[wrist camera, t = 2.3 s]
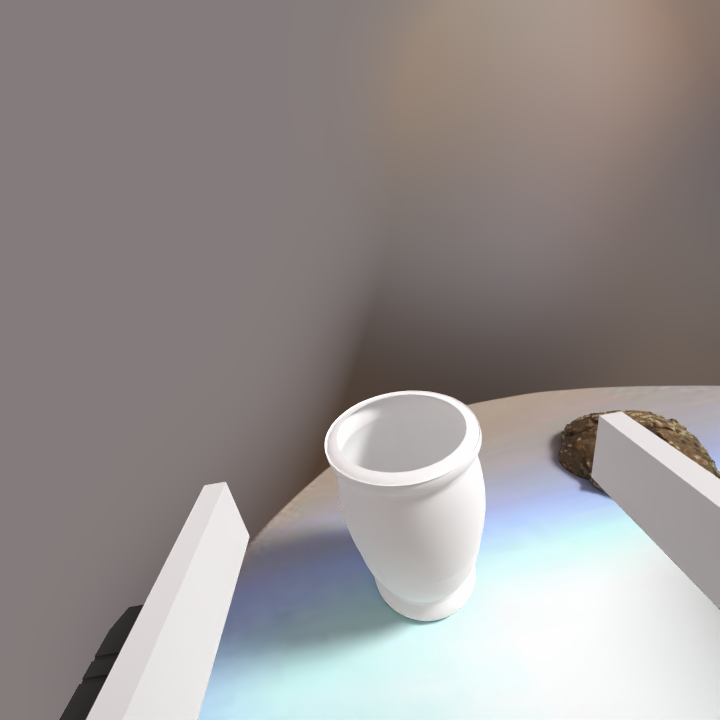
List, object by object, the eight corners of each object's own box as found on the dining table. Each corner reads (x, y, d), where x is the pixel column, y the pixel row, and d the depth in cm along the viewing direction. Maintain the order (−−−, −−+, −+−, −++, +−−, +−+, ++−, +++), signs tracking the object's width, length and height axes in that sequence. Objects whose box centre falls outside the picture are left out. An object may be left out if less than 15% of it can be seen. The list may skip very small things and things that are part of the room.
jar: (370, 653, 24) (322, 501, 18) (358, 531, 34) (324, 404, 28) (514, 622, 24) (513, 461, 18) (461, 509, 34) (450, 378, 28)
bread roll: (682, 431, 38) (691, 393, 36) (741, 522, 28) (759, 476, 26) (552, 422, 43) (554, 388, 41) (562, 495, 33) (565, 455, 31)
